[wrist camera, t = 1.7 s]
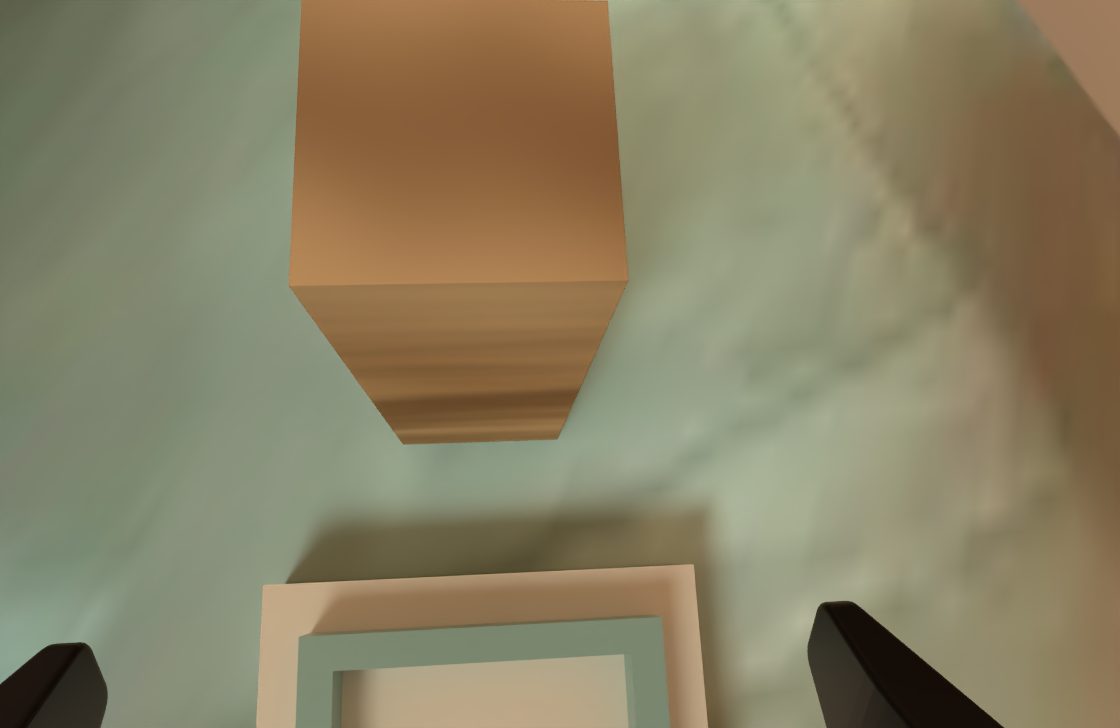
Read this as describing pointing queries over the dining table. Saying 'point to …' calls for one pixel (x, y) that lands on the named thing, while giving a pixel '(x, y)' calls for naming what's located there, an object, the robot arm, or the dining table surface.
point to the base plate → (485, 651)
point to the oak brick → (459, 206)
